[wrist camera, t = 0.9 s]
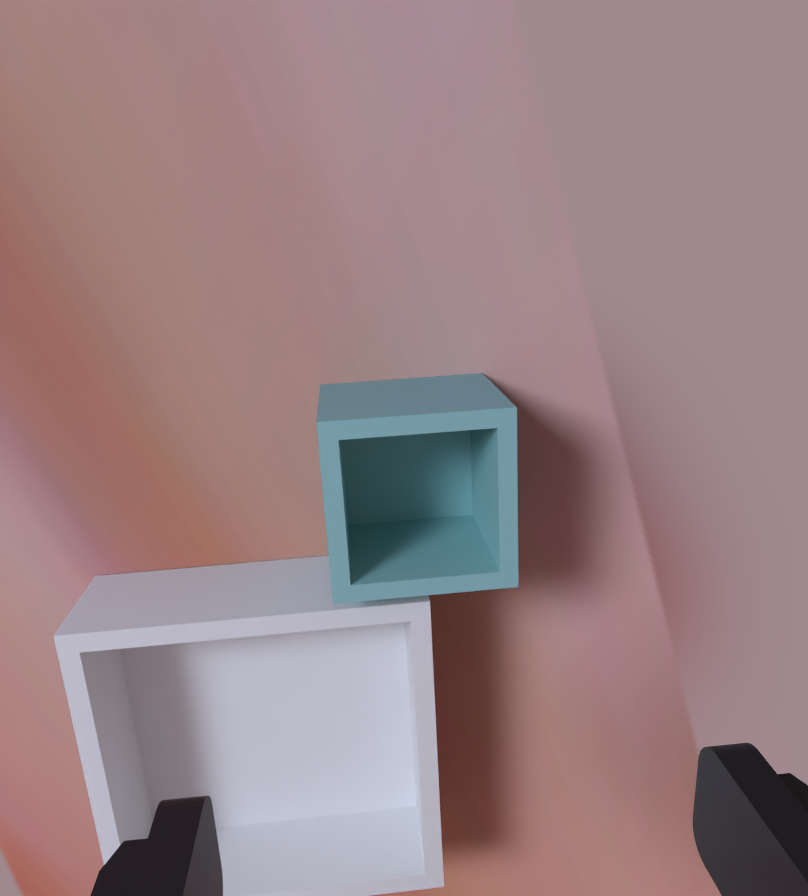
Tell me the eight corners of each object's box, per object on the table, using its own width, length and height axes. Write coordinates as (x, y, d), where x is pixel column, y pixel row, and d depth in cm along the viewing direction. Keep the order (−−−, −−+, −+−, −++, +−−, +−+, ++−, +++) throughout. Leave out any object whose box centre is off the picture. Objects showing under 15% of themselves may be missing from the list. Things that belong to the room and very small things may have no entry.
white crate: (94, 576, 28) (53, 636, 24) (416, 548, 29) (429, 601, 25) (145, 835, 32) (117, 925, 27) (430, 803, 32) (443, 886, 28)
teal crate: (320, 384, 27) (316, 422, 21) (482, 373, 27) (516, 407, 22) (333, 534, 28) (333, 603, 23) (485, 521, 29) (518, 587, 24)
